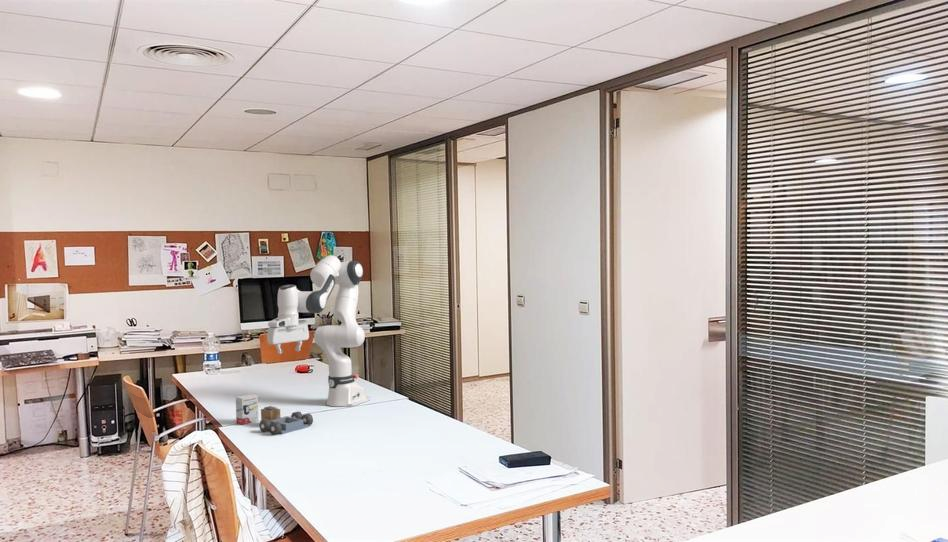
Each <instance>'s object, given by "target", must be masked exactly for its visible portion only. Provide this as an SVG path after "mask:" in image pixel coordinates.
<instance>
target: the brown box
mask: <svg viewBox="0 0 948 542" xmlns="http://www.w3.org/2000/svg"><path fill="white" fill-rule="evenodd" d="M279 418H282V417H281V408H278V407H277V406H272V405H269V406H264V407H263V408H262V409H260V421H262V420H266V419H268V420H269V421H271V420H275V419H279Z"/></svg>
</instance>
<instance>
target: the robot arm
mask: <svg viewBox="0 0 948 542" xmlns="http://www.w3.org/2000/svg"><path fill="white" fill-rule="evenodd" d="M363 268H364V267H363V265H362V264H361V263H360V261H357V260H350V261H341V260H340V259H339V258H338V257H337V256H336V255H334V254H333V255H332V254H330V255H326V256H325V257H323V258H322V259H320V260H319V261H318V262H317V263H316V264H315V265H314V266H313V267H312V269H311V271H310V275H309V276H310V280H311V282H312V283H313V284H314V285H315V286H316V287H317V288H319V289H318V290H315V291H314V290H312V291H305V290H304V291H301V290H299V288H297V285H295V284H285V285H281V286H280V287H279V288H278V291H277V307H278V308H277V309H278V313H277V317H276V318H274V319H272V320H269V321H268V322H267V326H268V329H267V335H266V337H267V339H266V341H267V343H268V345H274V347H275V348H276V350H277V354H278V355H281V354H283V353H284V349H282V348H281V346H282V345H281V344H287V343H293V342H294V343H295V342H296V343H297V345H296V346H295V347H294V350H295V352H300V351H301V347H302V345H303V341H308V340H309V338H310V331H309V326H308V325H309V324H308V322H307V321H306V320H305V319H299V313H309V314H310V313H311V314H320V313H322V312H323V311H324V310H325V308H326V305H327V303H328V300H329V297H330V296H331V295H332V292H333V290H334V288H335V285H339V286H338V287H339V288H338V291H337V295H336V298H335V302H334V307H333V310H332V312H333V316H334V317H335V319H337V321H339V322H341V323H340V325H337V324H335V325H331V324H328V325H322V326H318V327H317V328H316V330H315V331H314V334H313V340H314V342H315V344H316V345H317V346H318V347H320V348H321V350H322V351H323V352H324V353H325V355H326V358H327V363H328V378H327V379H328V380H327V381H328V394H327V395H328V396H327V400H326V405H327V406H330V407H348V406H349V407H351V406H353V407H354V406H358V405H360V404H362V403H363V404H364V403H366V402H368V401H370V400H371V397H370V396H367V395H366V391H365V387H363V386H362V385H360V384H359V382H356V381H355V379H356V380H357V379H359V375H358V374H352V373H353V369H352V358H350V357H349V355H347V354H345V353H344V352H343V351H342V349H341V348H351V349H352V348H357V347H360V346H362V345H363V343H364V342H365V339H366V334H365V330H364V329H363V328H362V326H360V325H359V324H358V321H357V317H356V316H357V314H356V313H357V309H358V304H359V303H358V302H359V294H360V293H359V290H360V289H359V284H360V282H361V280H362V279H363V276H364V269H363Z"/></svg>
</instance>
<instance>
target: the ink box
mask: <svg viewBox="0 0 948 542" xmlns="http://www.w3.org/2000/svg"><path fill="white" fill-rule="evenodd" d="M235 414H236V415H235V417H236V422H235V424H238V425H242V426H243V425H244V426H245V425H248V424H252V423H256V422H259V395H256V394H253V393H251V394H250V393H249V394H246V395H245V394H244V395H240V396H236V397H235Z"/></svg>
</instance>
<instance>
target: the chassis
mask: <svg viewBox="0 0 948 542" xmlns="http://www.w3.org/2000/svg"><path fill="white" fill-rule="evenodd" d="M313 422H314V418H313V415H312V414H311V413H310V412H309V413H305V414H302V412H301V411H299V410H298V411H294V412H292V413H291V415H290V416H283V417H281V418H279V419H275V420H271V421H269V420H268V419H266V420H262V421H261V420H260V422H259V431H261V432H262V433H267V432H270V433H271V435H272V436H274V435H275V436H276V435H278V434H280V435H285V434H288V433H291V432H295V431H299V430H303V429H305V428H309V426H310V425H311V426H312V424H313Z"/></svg>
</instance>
